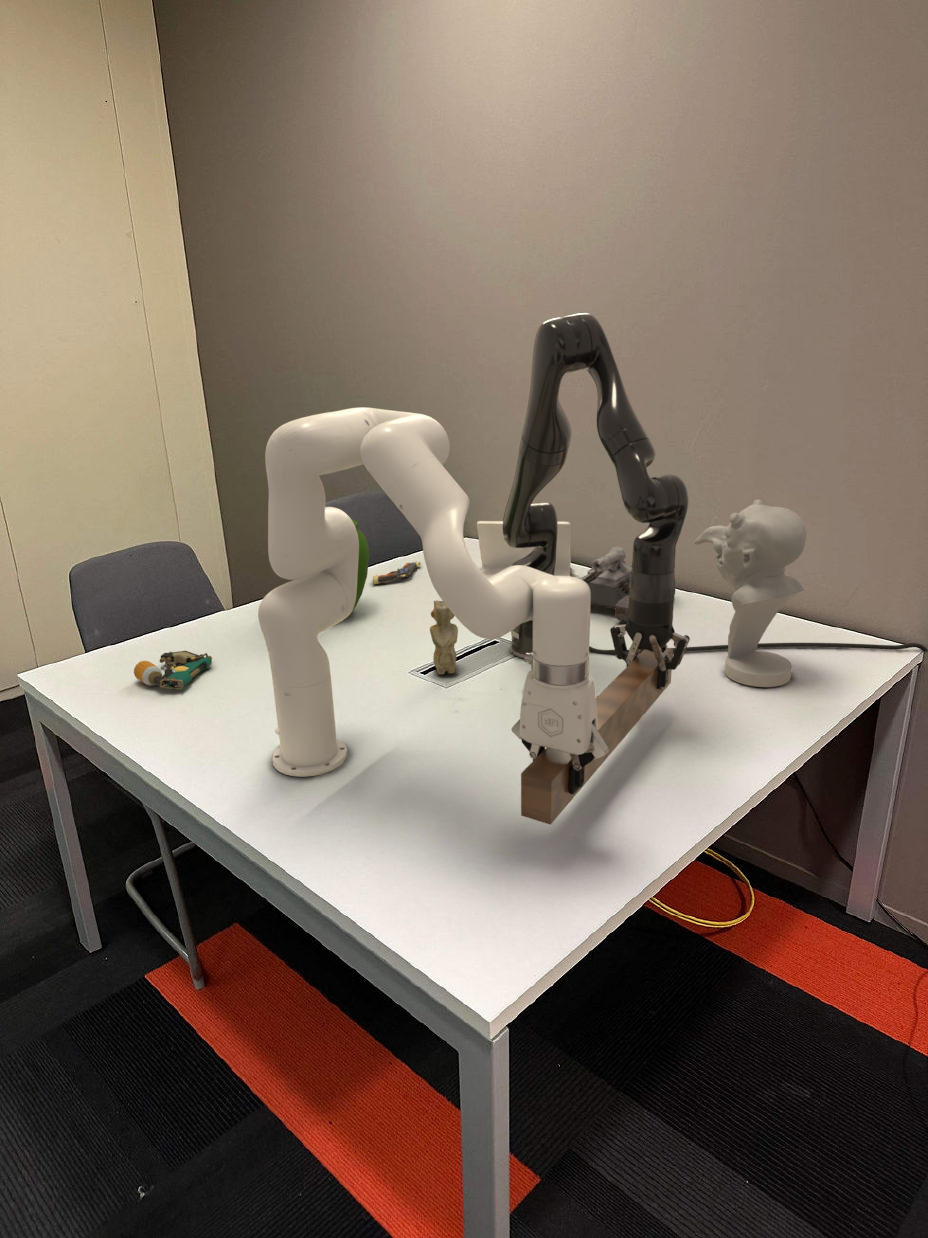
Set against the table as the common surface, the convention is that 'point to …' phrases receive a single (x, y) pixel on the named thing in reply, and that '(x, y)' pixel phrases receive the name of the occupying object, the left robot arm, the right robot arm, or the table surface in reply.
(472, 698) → the table surface
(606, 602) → the toy
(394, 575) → the toy gun
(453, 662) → the sculpture
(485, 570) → the tablet stand
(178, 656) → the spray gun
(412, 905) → the table surface
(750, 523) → the bust sculpture
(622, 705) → the bar
